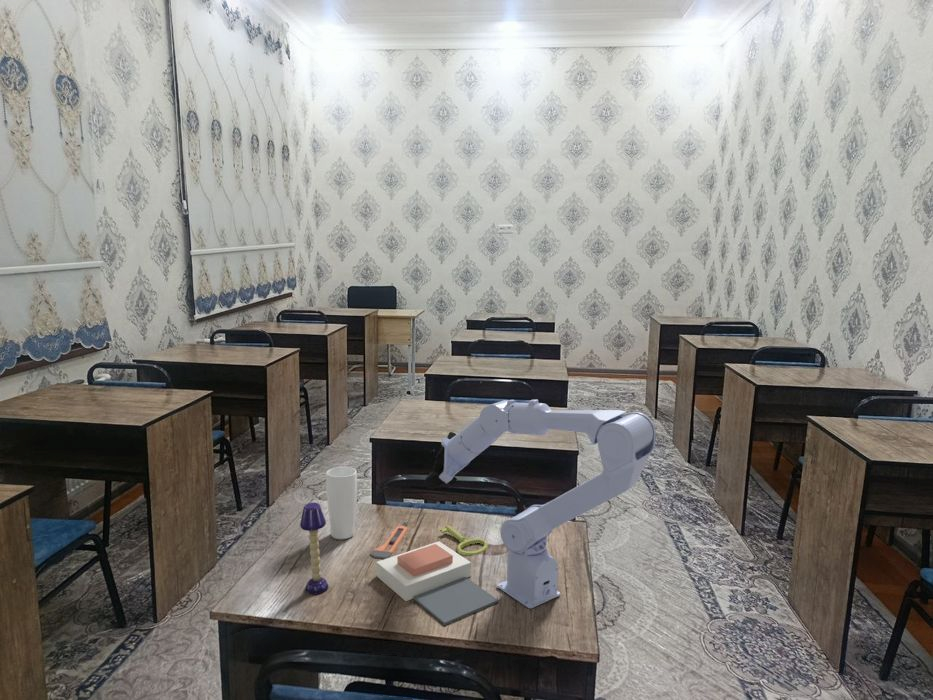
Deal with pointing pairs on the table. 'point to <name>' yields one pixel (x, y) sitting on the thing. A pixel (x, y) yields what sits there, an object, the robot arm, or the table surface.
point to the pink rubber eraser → (424, 560)
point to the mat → (455, 600)
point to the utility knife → (394, 538)
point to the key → (465, 542)
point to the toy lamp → (314, 545)
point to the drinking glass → (341, 501)
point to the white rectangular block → (424, 582)
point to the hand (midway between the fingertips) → (433, 472)
